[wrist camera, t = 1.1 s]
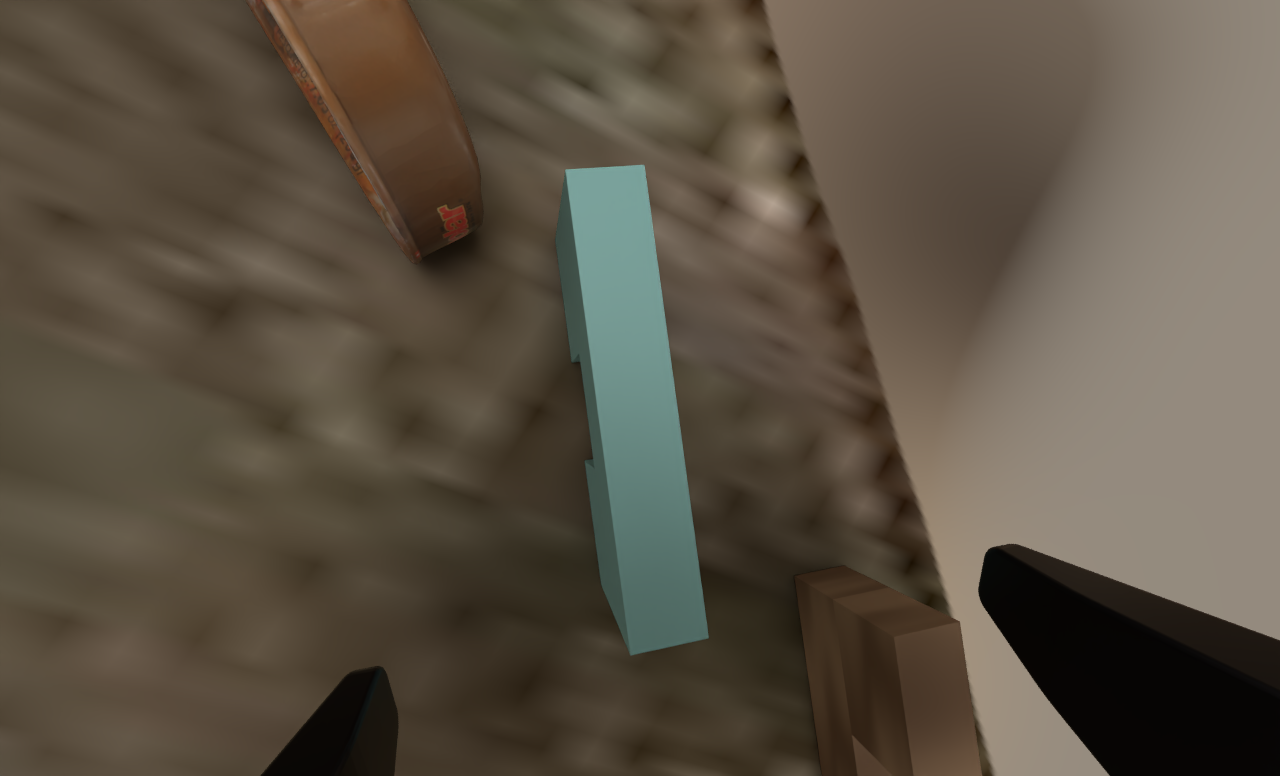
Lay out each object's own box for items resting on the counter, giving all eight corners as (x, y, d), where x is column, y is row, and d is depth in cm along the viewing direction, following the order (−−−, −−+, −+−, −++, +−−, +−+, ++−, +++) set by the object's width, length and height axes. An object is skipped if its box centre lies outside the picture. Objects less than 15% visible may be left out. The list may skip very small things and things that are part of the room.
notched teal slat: (657, 574, 21) (708, 638, 15) (601, 584, 20) (630, 655, 14) (611, 235, 21) (644, 165, 15) (555, 239, 20) (565, 169, 15)
